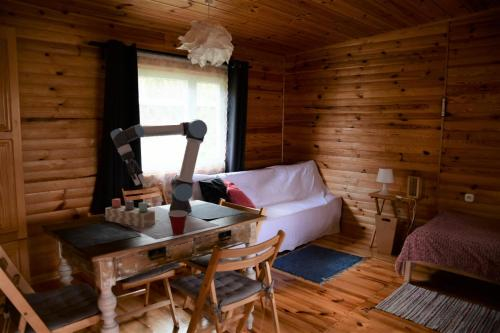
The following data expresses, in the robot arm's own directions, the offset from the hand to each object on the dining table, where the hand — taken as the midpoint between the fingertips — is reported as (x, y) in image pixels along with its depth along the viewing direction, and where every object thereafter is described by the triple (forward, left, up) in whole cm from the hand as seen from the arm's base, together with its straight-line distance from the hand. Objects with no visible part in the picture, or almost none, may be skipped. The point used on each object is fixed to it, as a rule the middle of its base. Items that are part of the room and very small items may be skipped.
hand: (141, 184), depth 229 cm
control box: (0, -8, -24) cm, 25 cm away
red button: (-5, -19, -16) cm, 25 cm away
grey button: (0, -8, -16) cm, 18 cm away
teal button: (+5, +3, -16) cm, 17 cm away
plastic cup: (+22, +29, -24) cm, 44 cm away
